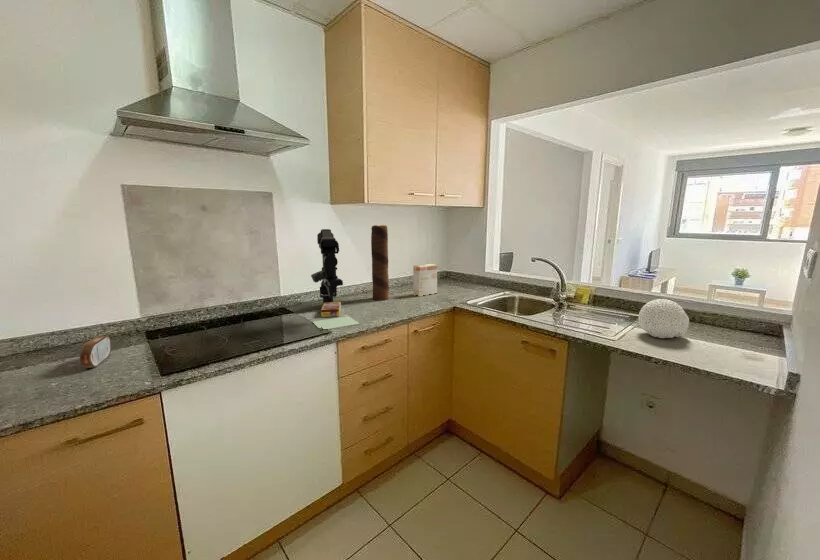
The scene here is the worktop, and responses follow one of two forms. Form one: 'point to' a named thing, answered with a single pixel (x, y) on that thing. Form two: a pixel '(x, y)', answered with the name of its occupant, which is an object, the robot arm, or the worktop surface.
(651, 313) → the white rounded lump
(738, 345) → the worktop surface
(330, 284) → the robot arm
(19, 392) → the worktop surface
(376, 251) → the wafer roll
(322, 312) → the candy box
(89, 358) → the tin
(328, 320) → the mat
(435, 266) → the coffeecake box
